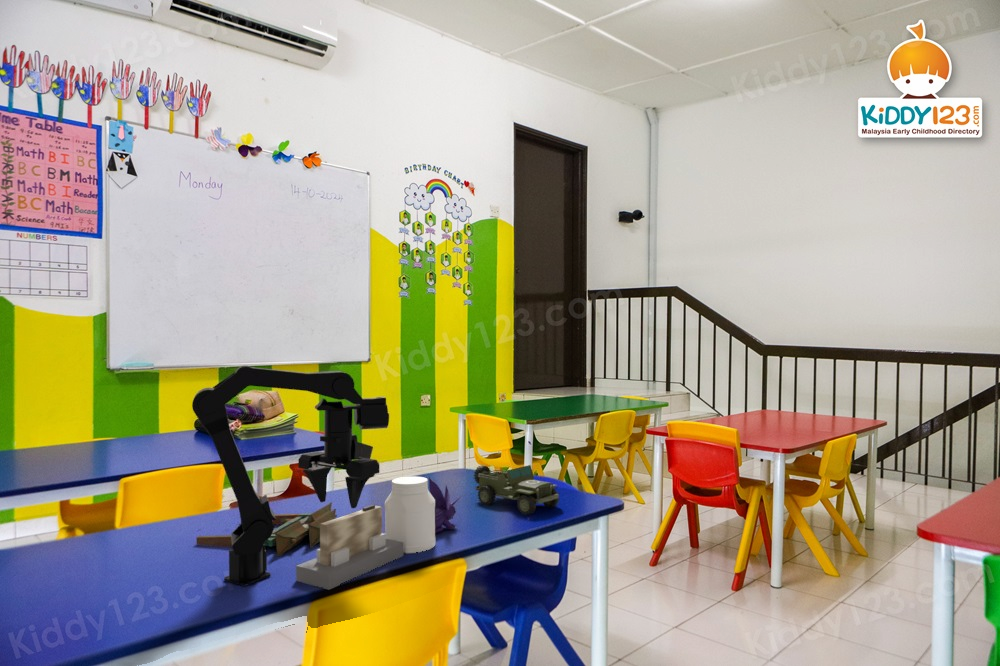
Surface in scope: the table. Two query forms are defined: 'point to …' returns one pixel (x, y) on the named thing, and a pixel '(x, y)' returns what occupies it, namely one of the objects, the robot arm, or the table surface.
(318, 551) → the hinge plinth
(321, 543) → the birch door
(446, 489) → the creature
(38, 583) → the table surface
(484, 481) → the toy jeep
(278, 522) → the miniature gate
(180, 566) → the table surface
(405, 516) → the jar
